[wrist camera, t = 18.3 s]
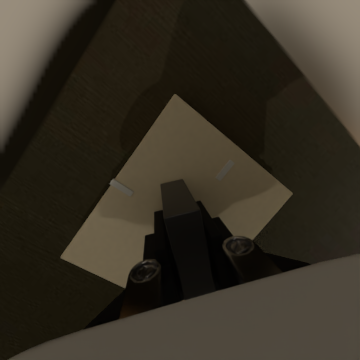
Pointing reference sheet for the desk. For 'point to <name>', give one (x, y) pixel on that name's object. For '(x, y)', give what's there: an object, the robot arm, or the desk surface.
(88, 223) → the beige flat block
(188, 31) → the desk surface
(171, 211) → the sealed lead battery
